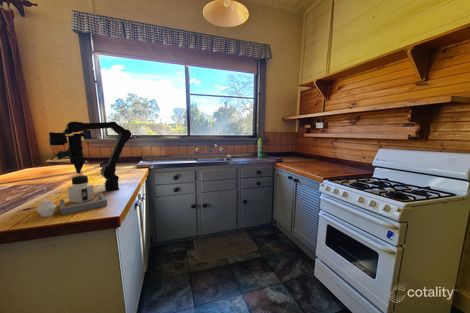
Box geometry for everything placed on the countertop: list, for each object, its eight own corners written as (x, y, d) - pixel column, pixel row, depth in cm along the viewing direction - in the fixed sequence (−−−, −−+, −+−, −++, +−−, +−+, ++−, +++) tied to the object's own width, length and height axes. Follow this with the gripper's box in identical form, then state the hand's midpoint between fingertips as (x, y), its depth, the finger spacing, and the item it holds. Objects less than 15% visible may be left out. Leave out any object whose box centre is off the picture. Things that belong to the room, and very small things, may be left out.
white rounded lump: (60, 212, 87) (59, 197, 86) (48, 218, 81) (46, 202, 80) (46, 212, 87) (44, 197, 86) (33, 218, 81) (30, 202, 80)
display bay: (102, 198, 105) (101, 193, 105) (107, 205, 96) (106, 199, 95) (60, 206, 94) (59, 200, 94) (61, 215, 84) (60, 208, 84)
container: (94, 198, 105) (92, 175, 103) (78, 203, 98) (76, 178, 96) (84, 196, 107) (82, 173, 106) (68, 201, 100) (66, 177, 99)
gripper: (55, 144, 107) (58, 172, 109) (55, 146, 94) (58, 178, 96) (81, 143, 115) (83, 169, 117) (84, 145, 101) (87, 175, 103)
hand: (78, 172), depth 108 cm, fingers open, 4 cm apart
